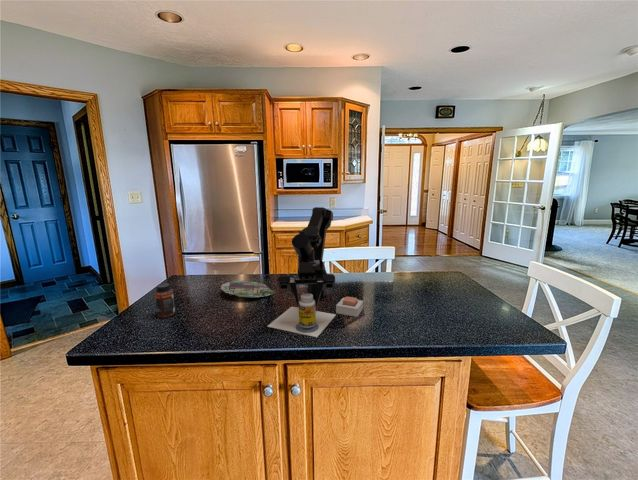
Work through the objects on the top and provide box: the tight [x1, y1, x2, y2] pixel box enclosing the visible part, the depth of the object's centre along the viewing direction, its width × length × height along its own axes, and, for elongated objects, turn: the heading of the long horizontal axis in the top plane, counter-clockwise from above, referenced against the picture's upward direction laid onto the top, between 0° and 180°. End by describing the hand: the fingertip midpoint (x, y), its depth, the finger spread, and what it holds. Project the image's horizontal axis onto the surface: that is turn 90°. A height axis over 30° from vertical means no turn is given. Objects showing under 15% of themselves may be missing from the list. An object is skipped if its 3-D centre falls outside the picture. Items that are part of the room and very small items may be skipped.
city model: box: [220, 280, 276, 298], centre depth 130 cm, size 25×23×6 cm
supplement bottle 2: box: [298, 292, 317, 328], centre depth 98 cm, size 6×6×10 cm
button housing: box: [335, 297, 364, 318], centre depth 111 cm, size 8×8×3 cm
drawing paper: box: [267, 306, 337, 338], centre depth 104 cm, size 18×17×1 cm
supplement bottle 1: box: [154, 283, 176, 319], centre depth 108 cm, size 6×6×11 cm
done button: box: [343, 296, 358, 307], centre depth 111 cm, size 4×4×2 cm
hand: (307, 306), depth 96 cm, fingers open, 6 cm apart
